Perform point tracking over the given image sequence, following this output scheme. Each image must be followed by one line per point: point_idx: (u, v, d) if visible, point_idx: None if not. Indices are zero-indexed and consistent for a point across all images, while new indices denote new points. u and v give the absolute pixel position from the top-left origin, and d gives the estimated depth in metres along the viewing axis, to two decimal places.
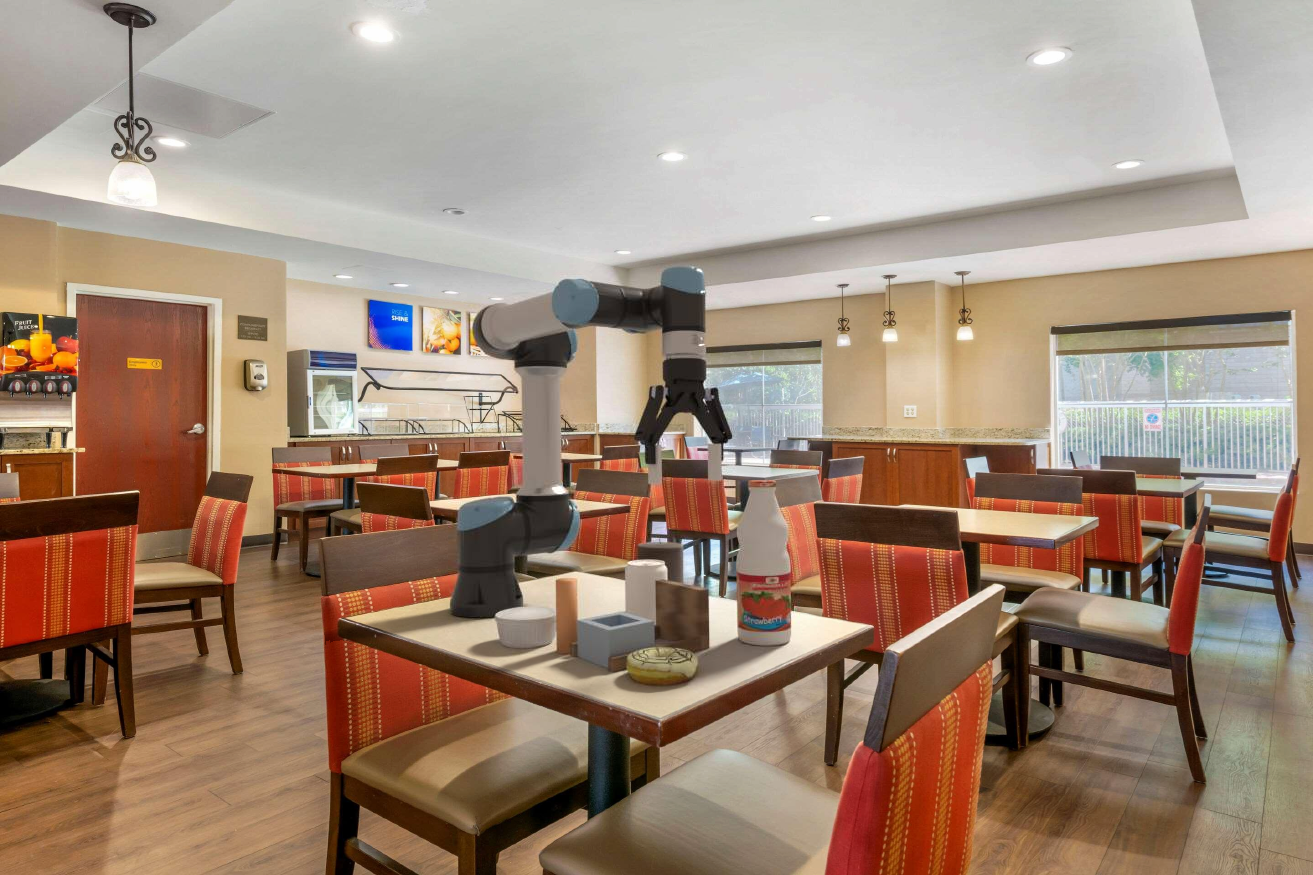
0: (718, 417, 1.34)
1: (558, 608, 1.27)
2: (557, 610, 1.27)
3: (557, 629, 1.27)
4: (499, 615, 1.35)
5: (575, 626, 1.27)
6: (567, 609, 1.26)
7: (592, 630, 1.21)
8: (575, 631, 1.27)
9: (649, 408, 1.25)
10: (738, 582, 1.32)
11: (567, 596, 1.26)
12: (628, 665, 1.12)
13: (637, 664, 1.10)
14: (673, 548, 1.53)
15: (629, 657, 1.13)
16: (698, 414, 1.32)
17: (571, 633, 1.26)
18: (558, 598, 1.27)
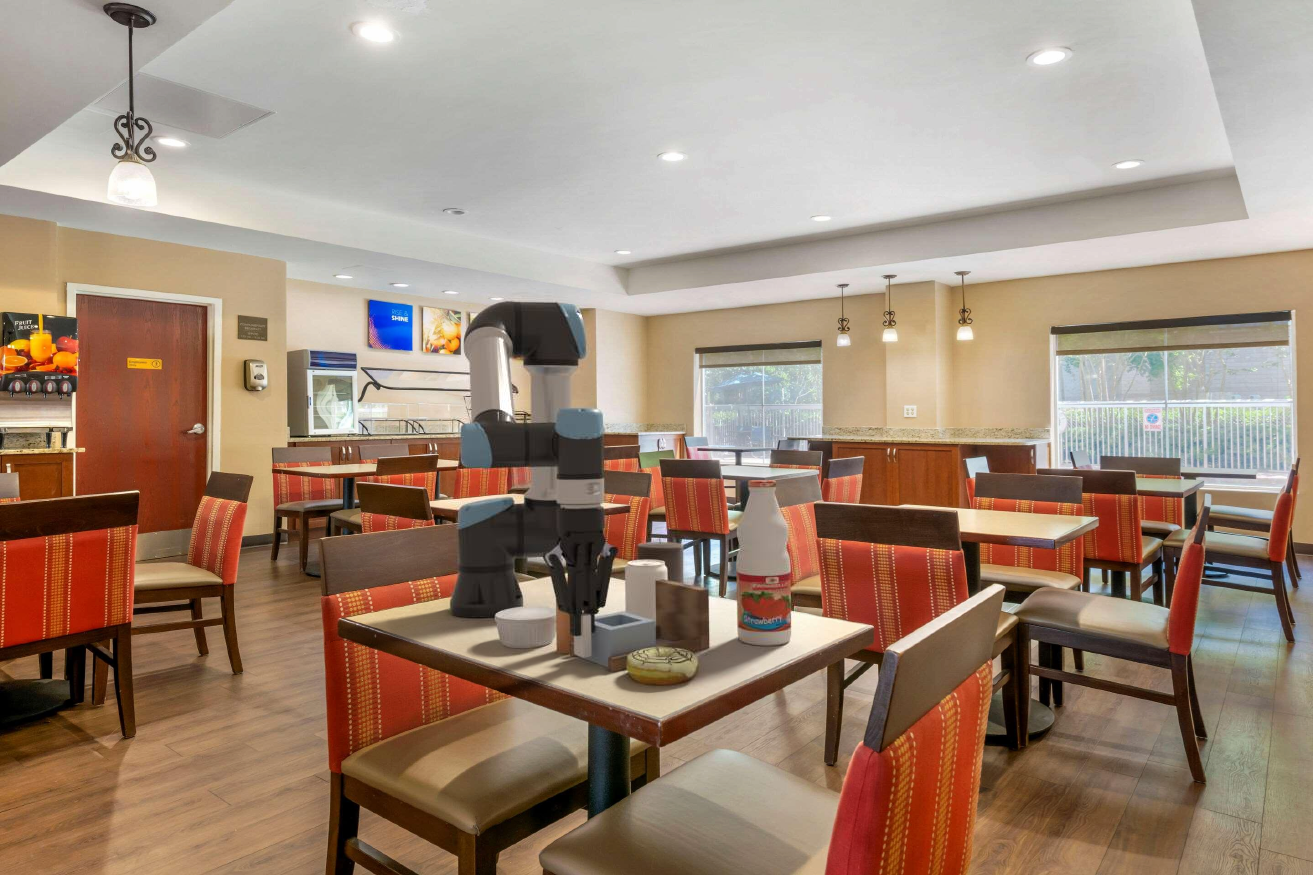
0: (602, 577, 1.21)
1: None
2: (557, 610, 1.27)
3: (557, 629, 1.27)
4: (499, 615, 1.35)
5: None
6: None
7: None
8: None
9: (556, 580, 1.17)
10: (738, 582, 1.32)
11: None
12: (628, 665, 1.12)
13: (637, 664, 1.10)
14: (673, 548, 1.53)
15: (629, 657, 1.13)
16: (584, 568, 1.20)
17: None
18: None
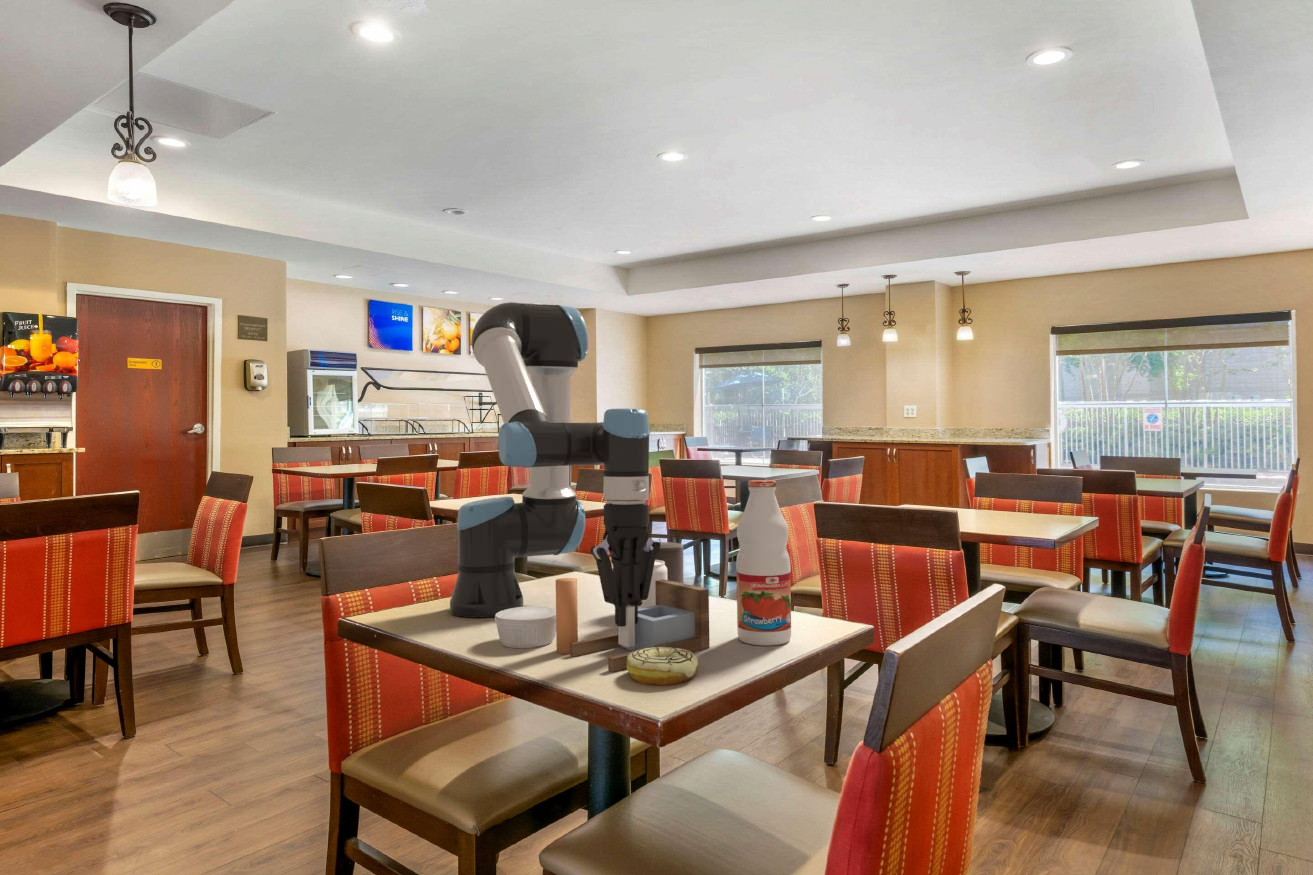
0: (645, 571, 1.27)
1: (558, 608, 1.27)
2: (557, 610, 1.27)
3: (557, 629, 1.27)
4: (499, 615, 1.35)
5: (575, 626, 1.27)
6: (567, 609, 1.26)
7: None
8: (575, 631, 1.27)
9: (603, 572, 1.22)
10: (738, 582, 1.32)
11: (567, 596, 1.26)
12: (628, 665, 1.12)
13: (637, 664, 1.10)
14: (673, 548, 1.53)
15: (629, 657, 1.13)
16: (629, 562, 1.26)
17: (571, 633, 1.26)
18: (558, 598, 1.27)
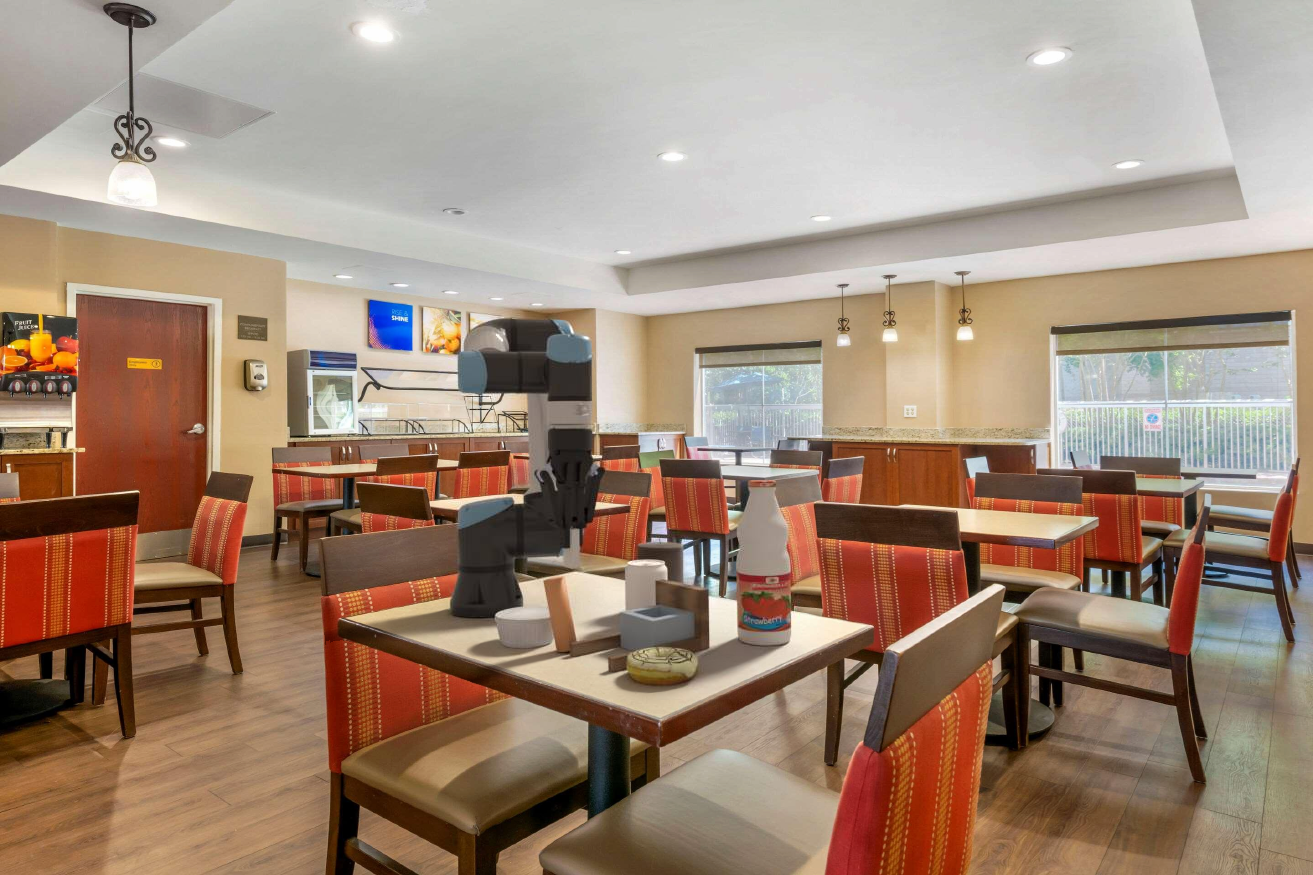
0: (590, 495, 1.29)
1: (550, 607, 1.27)
2: (550, 610, 1.27)
3: (553, 628, 1.27)
4: (499, 615, 1.35)
5: (570, 622, 1.27)
6: (559, 606, 1.26)
7: (636, 621, 1.26)
8: (571, 627, 1.27)
9: (546, 495, 1.24)
10: (738, 582, 1.32)
11: (557, 594, 1.27)
12: (628, 665, 1.12)
13: (637, 664, 1.10)
14: (673, 548, 1.53)
15: (629, 657, 1.13)
16: (573, 486, 1.28)
17: (567, 629, 1.26)
18: (548, 597, 1.27)
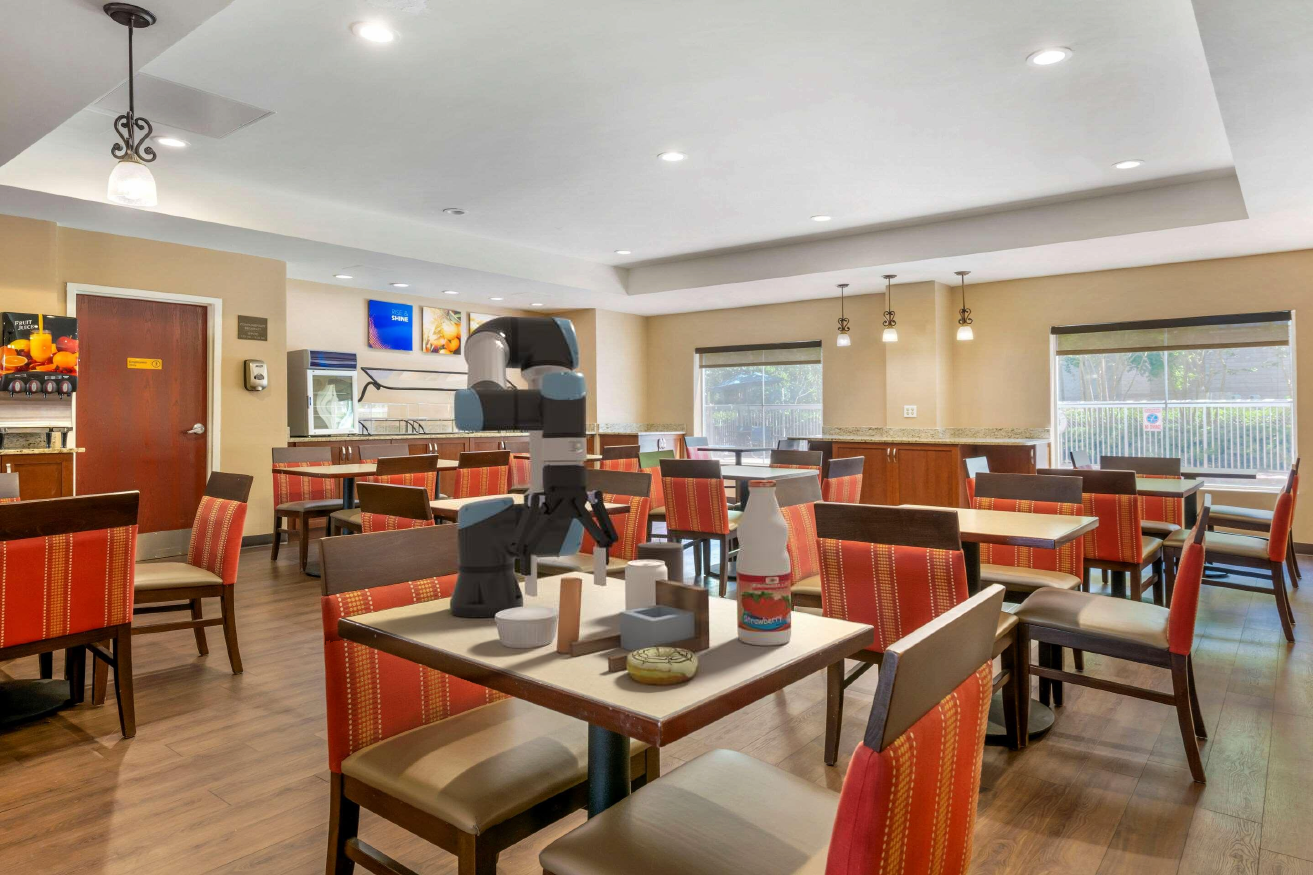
0: (603, 520, 1.32)
1: (561, 607, 1.26)
2: (560, 609, 1.27)
3: (559, 628, 1.27)
4: (499, 615, 1.35)
5: (577, 626, 1.27)
6: (570, 608, 1.26)
7: (636, 621, 1.26)
8: (576, 631, 1.27)
9: (524, 518, 1.23)
10: (738, 582, 1.32)
11: (571, 596, 1.26)
12: (628, 665, 1.12)
13: (637, 664, 1.10)
14: (673, 548, 1.53)
15: (629, 657, 1.13)
16: (580, 519, 1.30)
17: (572, 632, 1.26)
18: (561, 597, 1.26)
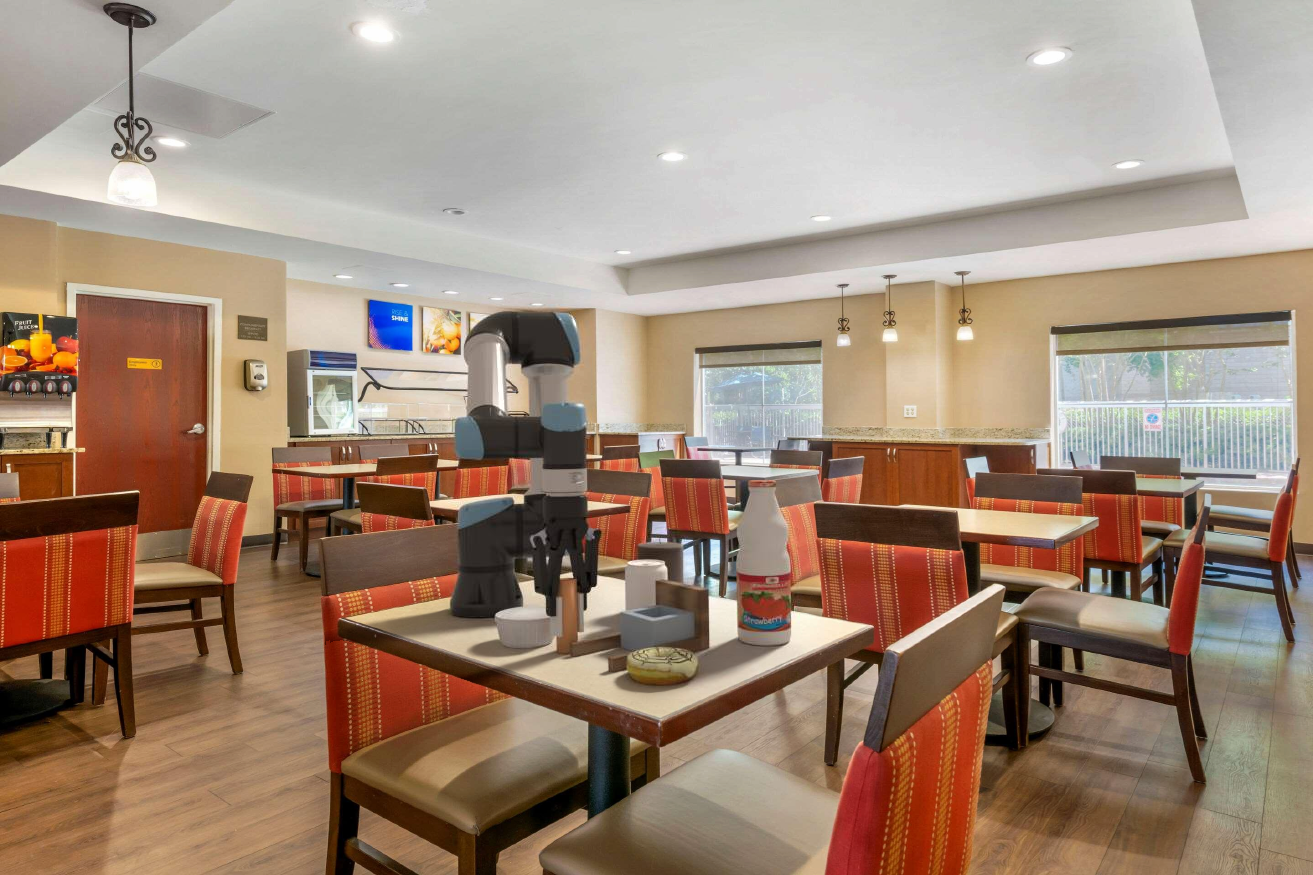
0: (590, 559, 1.30)
1: None
2: None
3: None
4: (499, 615, 1.35)
5: (575, 626, 1.27)
6: (566, 608, 1.26)
7: (636, 621, 1.26)
8: (575, 631, 1.27)
9: (536, 561, 1.24)
10: (738, 582, 1.32)
11: (567, 596, 1.26)
12: (628, 665, 1.12)
13: (637, 664, 1.10)
14: (673, 548, 1.53)
15: (629, 657, 1.13)
16: (572, 552, 1.29)
17: (570, 632, 1.26)
18: None
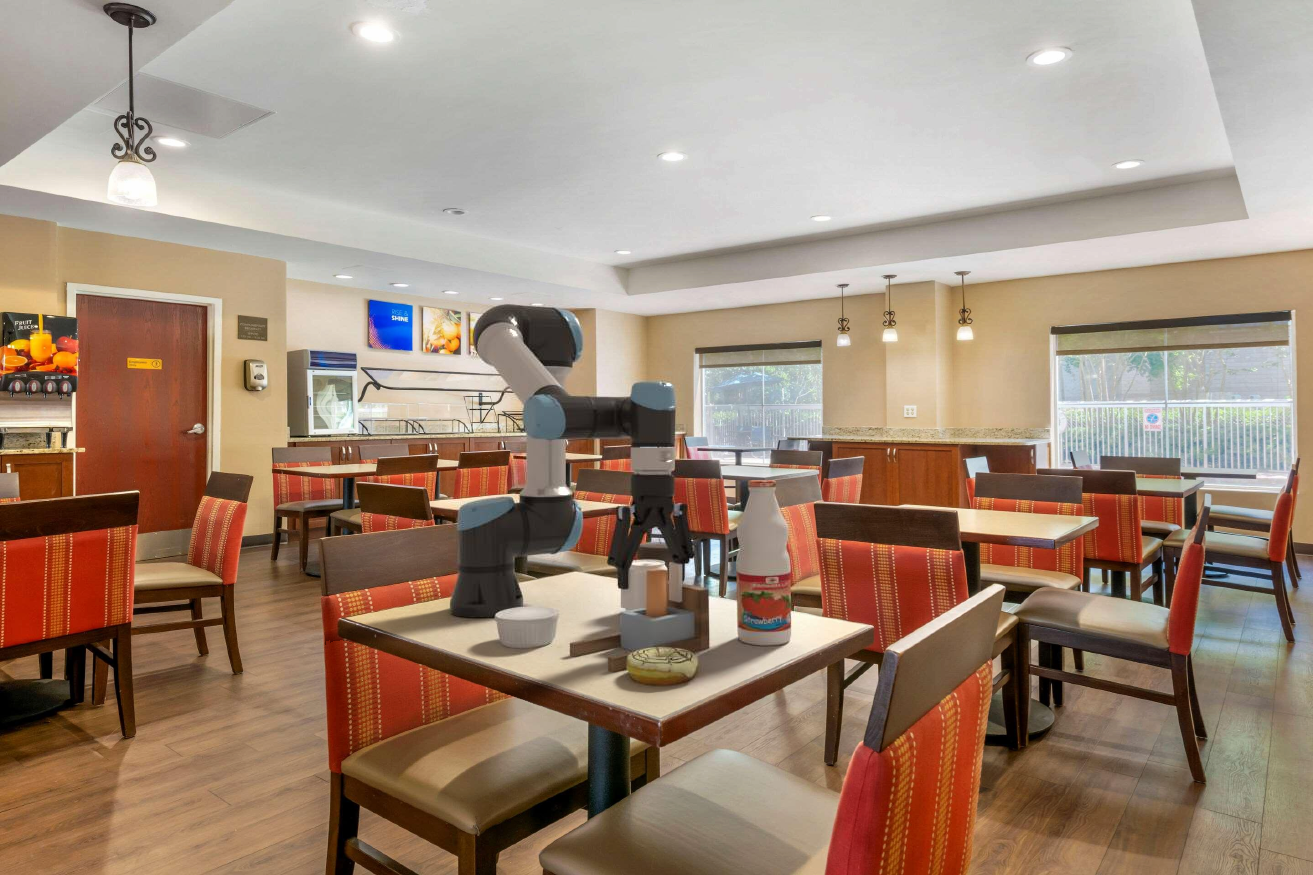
0: (683, 534, 1.32)
1: (649, 598, 1.28)
2: (648, 600, 1.28)
3: None
4: (499, 615, 1.35)
5: None
6: (658, 599, 1.27)
7: (636, 621, 1.26)
8: None
9: (618, 532, 1.24)
10: (738, 582, 1.32)
11: (659, 587, 1.27)
12: (628, 665, 1.12)
13: (637, 664, 1.10)
14: None
15: (629, 657, 1.13)
16: (663, 529, 1.30)
17: None
18: (649, 588, 1.28)
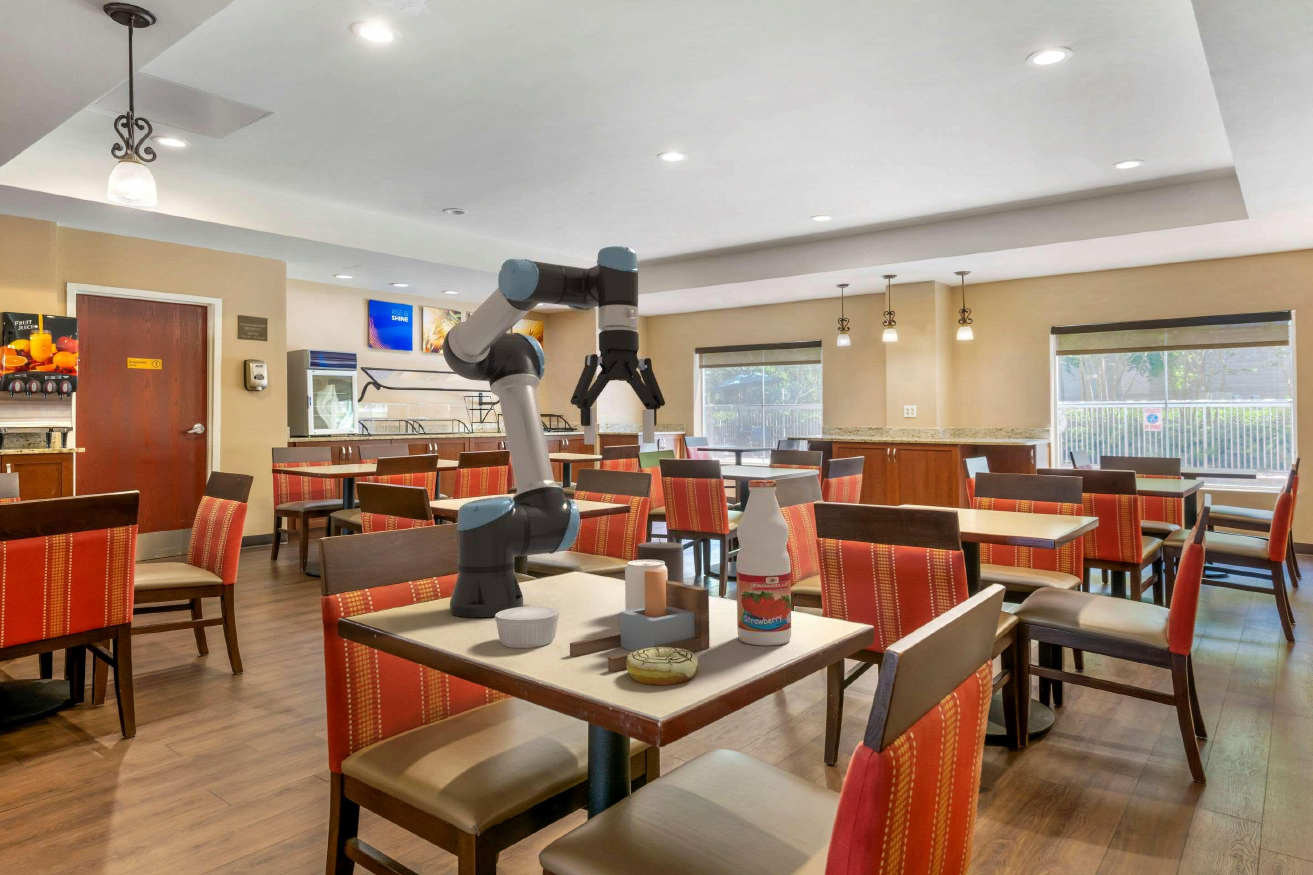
0: (651, 385, 1.47)
1: (647, 599, 1.28)
2: (646, 601, 1.28)
3: None
4: (499, 615, 1.35)
5: None
6: (657, 599, 1.27)
7: (636, 621, 1.26)
8: None
9: (584, 375, 1.38)
10: (738, 582, 1.32)
11: (657, 587, 1.27)
12: (628, 665, 1.12)
13: (637, 664, 1.10)
14: (673, 548, 1.53)
15: (629, 657, 1.13)
16: (632, 382, 1.45)
17: None
18: (647, 588, 1.28)
